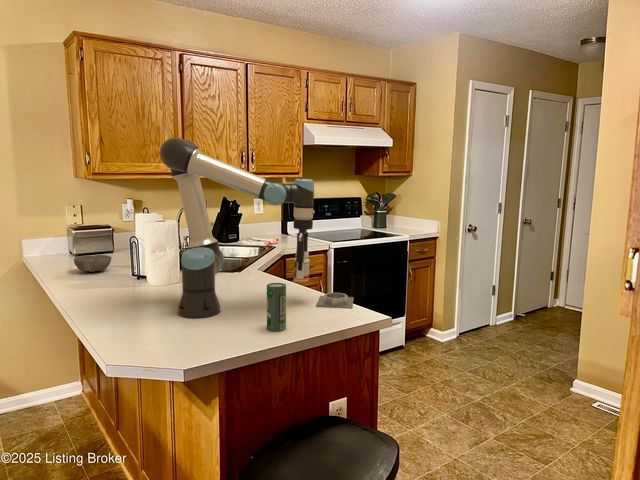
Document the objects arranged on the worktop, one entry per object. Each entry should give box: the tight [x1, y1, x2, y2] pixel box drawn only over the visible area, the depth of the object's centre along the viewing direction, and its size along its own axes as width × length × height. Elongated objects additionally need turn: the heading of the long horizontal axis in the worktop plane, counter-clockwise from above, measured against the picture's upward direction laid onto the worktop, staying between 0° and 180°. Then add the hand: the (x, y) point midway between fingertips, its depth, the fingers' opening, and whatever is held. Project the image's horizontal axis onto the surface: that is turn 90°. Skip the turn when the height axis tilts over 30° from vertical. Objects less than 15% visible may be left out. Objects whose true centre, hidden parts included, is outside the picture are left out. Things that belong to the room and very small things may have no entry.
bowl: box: [73, 254, 112, 273], centre depth 243 cm, size 18×18×8 cm
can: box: [266, 282, 287, 333], centre depth 156 cm, size 6×6×15 cm
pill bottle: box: [293, 251, 311, 283], centre depth 186 cm, size 6×6×11 cm
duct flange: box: [315, 292, 354, 310], centre depth 189 cm, size 14×14×3 cm
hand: (301, 276), depth 187 cm, fingers closed on pill bottle, 6 cm apart
